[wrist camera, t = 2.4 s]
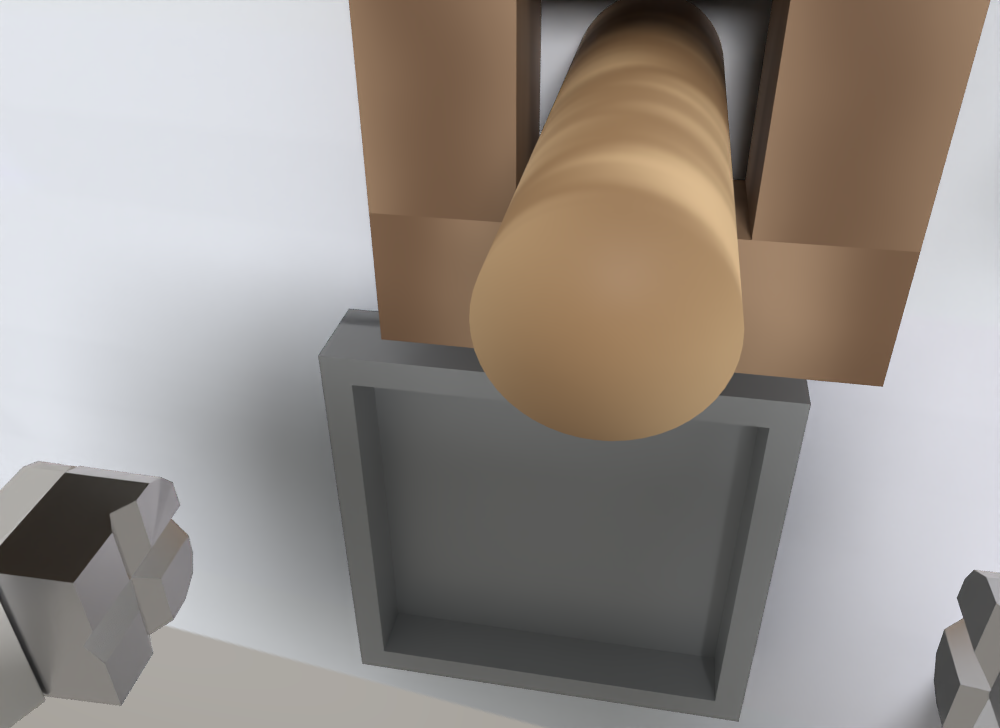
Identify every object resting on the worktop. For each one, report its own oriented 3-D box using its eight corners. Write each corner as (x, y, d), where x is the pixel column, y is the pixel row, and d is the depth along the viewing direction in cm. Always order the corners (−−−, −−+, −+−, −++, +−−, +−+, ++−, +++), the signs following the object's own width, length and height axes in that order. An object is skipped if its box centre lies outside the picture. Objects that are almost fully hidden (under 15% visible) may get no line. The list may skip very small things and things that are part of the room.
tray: (801, 349, 28) (810, 404, 26) (735, 657, 37) (738, 721, 34) (348, 308, 31) (318, 355, 28) (383, 607, 39) (362, 663, 37)
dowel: (733, -6, 23) (765, 216, 12) (713, 144, 25) (724, 454, 14) (578, -10, 24) (465, 196, 12) (573, 136, 26) (472, 426, 15)
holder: (998, -242, 20) (1057, -244, 16) (861, 312, 27) (883, 386, 24) (382, -235, 22) (326, -236, 18) (416, 276, 30) (381, 339, 26)
